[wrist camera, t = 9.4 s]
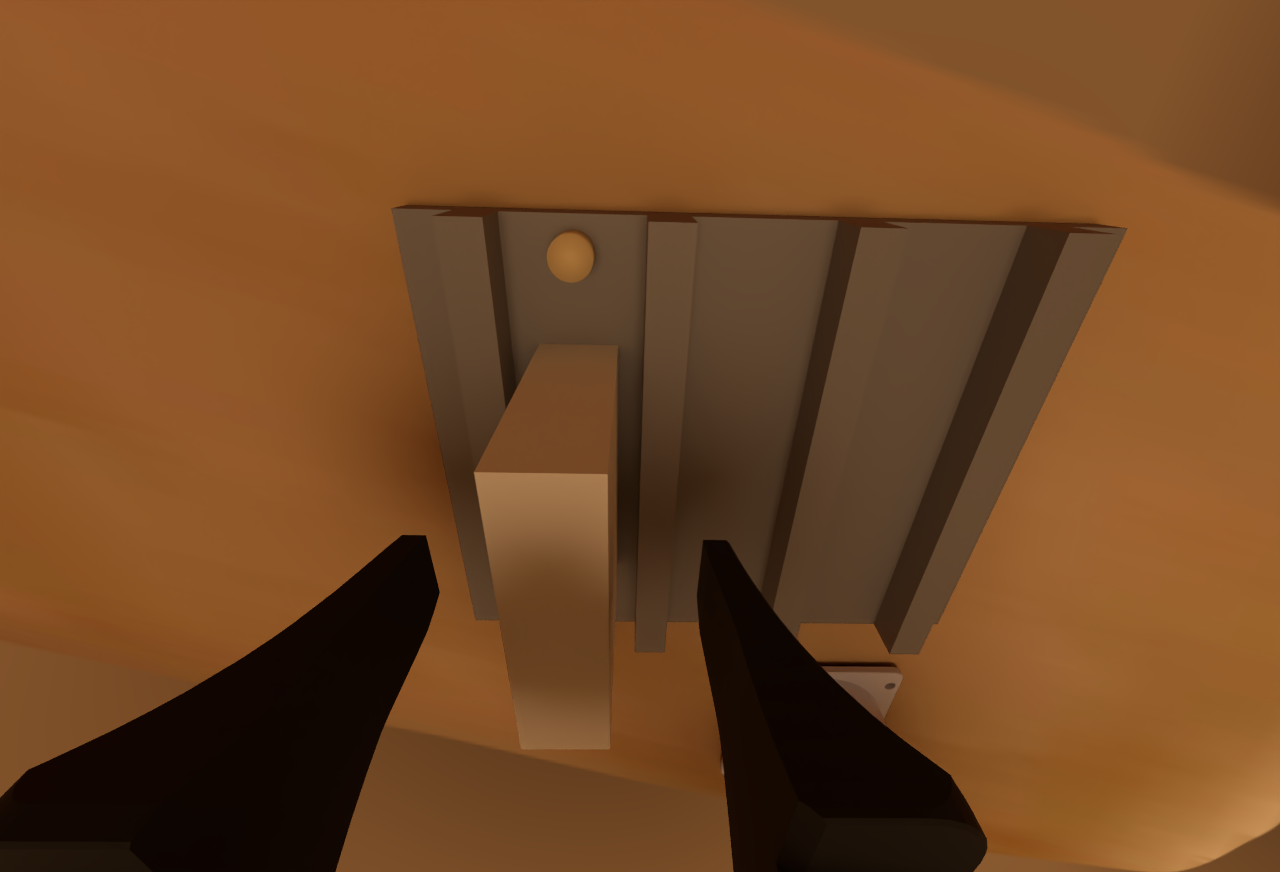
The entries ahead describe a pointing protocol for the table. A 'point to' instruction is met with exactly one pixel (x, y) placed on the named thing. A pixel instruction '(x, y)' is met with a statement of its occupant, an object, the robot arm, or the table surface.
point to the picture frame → (557, 543)
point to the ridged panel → (763, 387)
